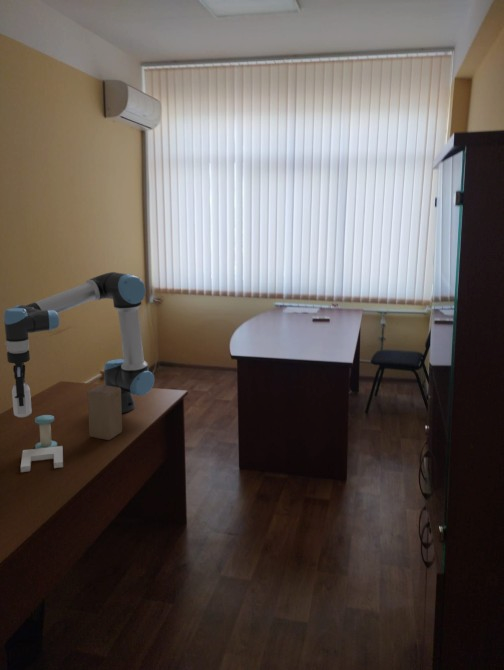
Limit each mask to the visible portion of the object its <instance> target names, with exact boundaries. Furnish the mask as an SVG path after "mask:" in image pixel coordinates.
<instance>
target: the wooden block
mask: <svg viewBox="0 0 504 670" xmlns="http://www.w3.org/2000/svg"><path fill="white" fill-rule="evenodd" d="M87 391H88V392H87V410H88V432H89V437H90V438H95V439H99V440H100V439H101V440H105V441H110V440H112V439H114V438H115V437H117V436H118V435H120V434H121V433H122V432H123V419H122V418H123V416H122V414H123V413H122V408H121V388H120V387H113V386H107V385H105V384H100V385H98V386H96V387H94V388H92V389H90V390H87Z"/></svg>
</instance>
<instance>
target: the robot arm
mask: <svg viewBox="0 0 504 670" xmlns="http://www.w3.org/2000/svg"><path fill="white" fill-rule="evenodd" d="M145 295H146V286H145V283H144V282H143V280H142V279H141V278H140V277H138V276H136V275H133V274H131V273H121V272H115V271H112V272H106V273H103V274H101V275H100V274H99V275H97V276H94V277H92V278H89V279H87V280H86V281H85V282H84V283H83V284H80V285H78V286H75V287H72V288H70V289H67V290H64V291H62V292H58V293H56V294H54V295H50V296H48V297H45V298H42V299H41V300H38V301H35V302H32V303H29V304H26V305H24V304H18V305H15V306H14V307H11V308H7V309H6V310H4V313H3V323H4V332H5V342H4V344H3V345H4V346H6V351H7V352H6V358H7V359H6V360H7V362H8V363H10V364H14V365H13V367H12V369H13V375H14V379H15V384H16V393H17V396H15V398H17V405H18V414H26V403H25V395H24V383H26V382H25V381H26V379H25V378H26V376H25V375H26V364H25V363H27V362H29V361H30V359H31V358H30V356H31V355H30V340H29V334H32V333H38V332H46V331H52V330H55V329H58V327H59V325H60V316H59V314H61V313H64V312H65V311H68V310H70V309H73V308H76V307H78V306H82V305H83V304H86V303H88V302H91V301H95V302H97V301H99V300H102V299H103V300H104V299H111V300H112V301H113V302H112V303H113V308H114V309H116V310H117V312H118V314H117V315H118V320H119V321H118V322H119V330H120V337H121V346H122V347H121V348H122V356H123V358H117V359H112V360H108V361H105V363H104V368H103V372H104V385H107V386H113V387H120V388H121V408H122V414H124V413H128V412H131V411H133V410H134V409H135V408H136V402H135V400H134V397H133V395H134V396H140V397H141V396H145V395H146V394H149V392H151V390H152V388H153V387H154V384H155V375H154V373H152V372H151V371H150V370H149V364H148V362H147V361H145V359H144V350H143V349H144V348H143V340H142V339H143V338H142V331H141V323H140V312H139V309H140V307H141V306H142V301H143V300H144V298H145Z"/></svg>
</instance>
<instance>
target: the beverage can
mask: <svg viewBox="0 0 504 670" xmlns="http://www.w3.org/2000/svg"><path fill="white" fill-rule="evenodd" d="M12 386H13V387H12V389H11V396H12V397H11V398H12V408H13V409H12V410H13V415H14V416H15V417H17V418H26V417H28V416H30V415H31V414H32V412H33V411H32V399H31V388H30V386H29V385H28V383H27V382H25V383H24V395H25V403H26V414H18V405H17V398H15V396H17V393H16V383H14V384H13V385H12Z"/></svg>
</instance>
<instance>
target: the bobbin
mask: <svg viewBox="0 0 504 670" xmlns="http://www.w3.org/2000/svg"><path fill="white" fill-rule="evenodd" d="M53 422H55V416H54V415H51V414H43V415H39V416H36V417H35V418H34V423H36V424H37V425H38V426H39V439H40V442H37V443H36V444H35V447H34V449H39V448H48V447H57V446H58V442H57V441H55V440H52V428H51V425H52V423H53Z"/></svg>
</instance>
